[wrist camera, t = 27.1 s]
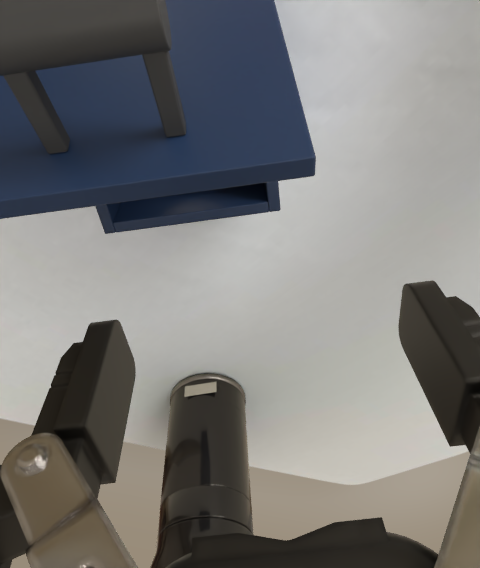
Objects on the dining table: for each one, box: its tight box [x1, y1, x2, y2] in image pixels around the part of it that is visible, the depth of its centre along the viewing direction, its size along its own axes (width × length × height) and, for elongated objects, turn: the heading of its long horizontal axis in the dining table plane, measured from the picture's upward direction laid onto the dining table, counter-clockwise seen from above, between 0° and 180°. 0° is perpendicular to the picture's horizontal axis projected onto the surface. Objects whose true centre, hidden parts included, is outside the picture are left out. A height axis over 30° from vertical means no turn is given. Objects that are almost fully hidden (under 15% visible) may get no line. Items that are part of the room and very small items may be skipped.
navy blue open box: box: [96, 181, 280, 234], centre depth 31 cm, size 15×13×9 cm
